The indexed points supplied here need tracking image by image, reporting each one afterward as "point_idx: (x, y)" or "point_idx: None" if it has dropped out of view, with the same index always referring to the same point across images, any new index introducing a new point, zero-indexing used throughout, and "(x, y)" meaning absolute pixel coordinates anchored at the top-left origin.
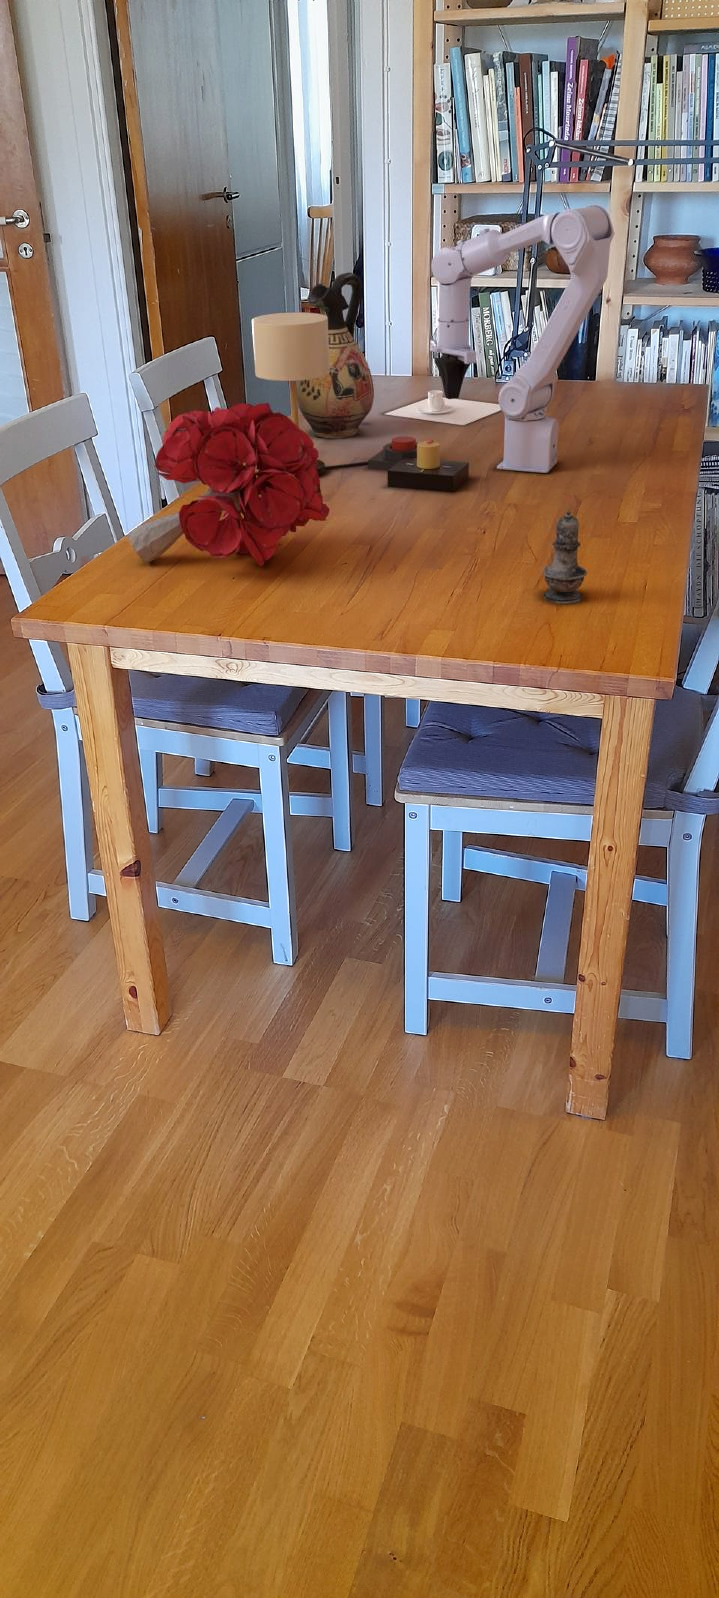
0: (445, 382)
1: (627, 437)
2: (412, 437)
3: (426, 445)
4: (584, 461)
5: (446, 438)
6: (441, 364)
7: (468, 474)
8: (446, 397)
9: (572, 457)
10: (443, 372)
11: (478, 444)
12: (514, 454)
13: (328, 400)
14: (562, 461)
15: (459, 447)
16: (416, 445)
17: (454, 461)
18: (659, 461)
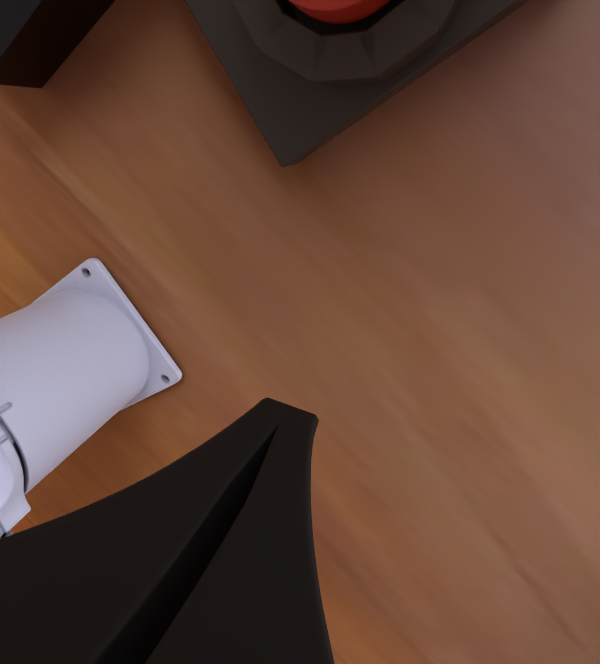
0: (223, 473)
1: None
2: (328, 1)
3: None
4: (74, 465)
5: (565, 457)
6: (48, 646)
7: (24, 84)
8: (299, 411)
9: (115, 478)
10: (168, 553)
11: (393, 454)
12: (27, 306)
13: None
14: (96, 438)
15: (415, 388)
16: (315, 31)
17: (10, 32)
18: None
